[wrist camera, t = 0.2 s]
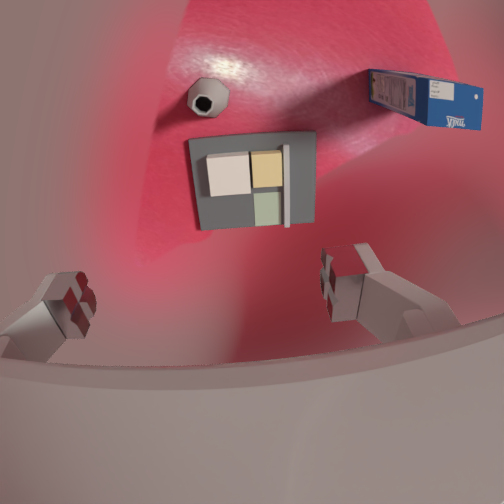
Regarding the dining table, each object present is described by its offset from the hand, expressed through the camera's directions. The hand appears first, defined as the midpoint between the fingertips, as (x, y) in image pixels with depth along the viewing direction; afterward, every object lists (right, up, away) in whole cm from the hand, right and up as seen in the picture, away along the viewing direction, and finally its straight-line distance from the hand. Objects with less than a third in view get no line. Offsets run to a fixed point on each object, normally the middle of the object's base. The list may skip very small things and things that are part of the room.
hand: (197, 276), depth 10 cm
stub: (+4, +16, +45) cm, 48 cm away
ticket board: (+2, +14, +48) cm, 50 cm away
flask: (-6, +27, +39) cm, 48 cm away
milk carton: (+27, +31, +38) cm, 56 cm away
